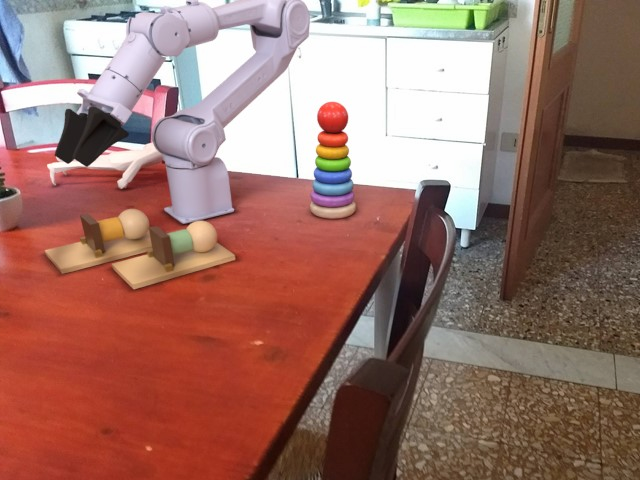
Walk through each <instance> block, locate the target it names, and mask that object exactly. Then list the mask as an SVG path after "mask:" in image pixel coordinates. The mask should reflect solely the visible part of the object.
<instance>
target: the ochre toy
mask: <svg viewBox="0 0 640 480" xmlns="http://www.w3.org/2000/svg"><path fill="white" fill-rule="evenodd" d="M79 218H80V222H81V225H82V231H83V234H84V237H85V239H86V243H87V245H88V246H89V247H90V248H91V249H92V250H93V251H95V250H99V249H100V250H101V251H102V253H103V252H105V249H104V244H103V242H107V241H112V240H116V239H120V238H123V237H125V238H128V239H133V240H134V239H139V238H142V237H143V236H145V235H146V233H147V232H148V230H149V227H150V221H149V218H148V216H147V215H146V214H145V213H144V212H143V211H141V210H139V209H136V208H129V209H125V210H123V211H122V212H121V213H119V215H118V216H114V217H109V218H105V219H100V220H96V219H95V218H94V217H93V216H92V215H91V214H90V213H84V214H80V215H79Z"/></svg>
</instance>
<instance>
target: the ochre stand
mask: <svg viewBox="0 0 640 480" xmlns="http://www.w3.org/2000/svg"><path fill="white" fill-rule="evenodd" d="M103 244H104V249H105V252H103V253H102V251H101V250H100V249H99V250H95V251H93V250H92V249H91V248H90V247H89V246H88V245H87V243H86V239H85V236H81V237H79V241H78V242H73V243H69V244H65V245H61V246H57V247H52V248H47V249H45V250H44V253H45V256H46V257H47V259H49V260H50V261H51V263H52V264H53V265H54V266H55V267H56V269H57V270H58V271H59V272H60V273H61V274H62V275H64V274H68V273H72V272H76V271H80V270H84V269H87V268H91V267H96V266H99V265H103V264H106V263H111V262H114V261H117V260H122V259H125V258H129V257H133V256H137V255H141V254H145V253H147V250H151V249H152V244H151V238H150V233H149V230H148V232H147V233H146V235H145V236H143V237H142V238H139V239H134V240H133V239H128V238H125V237H123V238H120V239H116V240H112V241H107V242H103Z"/></svg>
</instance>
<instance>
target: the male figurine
mask: <svg viewBox="0 0 640 480" xmlns="http://www.w3.org/2000/svg"><path fill="white" fill-rule="evenodd" d="M55 158H56V160H57V161H58V162H57V161H56V162H51V163H47V164H46V166H47V169H48V170H49V177H50V180H51V182H52V184H53V186H55V187H56V186H57V183H56V174H57V173H63V174H64V176H67V175H68V174H67V171H72V170H78V169H79V170H80V169H90V170H100V171H111V172H115V171H116V172H117V171H119V172H123V173H122V176H121V178H119V179H118V180H117V181H116V183H117V187H118V189H120V190H123V189H127V187H128V185H129V184H130V183H132V182H133V180H134V178H135V177H136V175H138V173H139V171H140V170H141V169H144V168H147V167H151V166H155V165H158V164H160V163H161V162H162V161H163V156H162V154H161V153H160V152H159V151H157V149H156V148H155V146H154V144H153V141H152V142H149V143H146V144H145V145H144V146H143V147H142V148H141V149H130V150H120V151H112V152H110V153H109V154H101V155H100V156H99V157H98V158H97V159H96V160H95V161H94V162H93V163H92V164H90V165H89V166H88V167H86V166H84V165H83V164H81V163H80V162H78V161H77V160H75V159H74V160H73V161H72V162H71V163H69V164H67V163H65V162H64V161H62V160H61V159H59V158H58V157H56V156H55Z"/></svg>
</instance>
